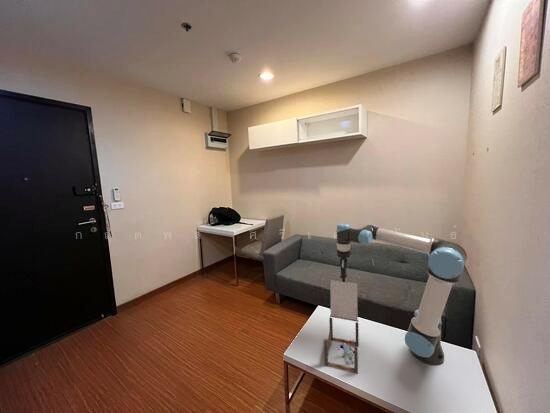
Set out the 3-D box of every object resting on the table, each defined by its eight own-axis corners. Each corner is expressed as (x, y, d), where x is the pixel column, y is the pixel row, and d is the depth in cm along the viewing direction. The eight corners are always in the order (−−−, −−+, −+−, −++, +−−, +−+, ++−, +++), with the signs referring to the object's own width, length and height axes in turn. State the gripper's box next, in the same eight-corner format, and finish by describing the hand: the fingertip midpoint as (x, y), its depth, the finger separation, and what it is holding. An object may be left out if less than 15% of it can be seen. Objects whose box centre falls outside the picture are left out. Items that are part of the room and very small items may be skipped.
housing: (358, 344, 127) (358, 322, 126) (357, 373, 108) (357, 348, 107) (330, 338, 133) (329, 317, 132) (324, 365, 114) (324, 341, 113)
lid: (358, 322, 126) (358, 321, 127) (358, 283, 126) (358, 283, 127) (329, 317, 132) (329, 316, 133) (329, 280, 132) (329, 280, 133)
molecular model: (364, 361, 111) (352, 341, 114) (347, 369, 112) (336, 350, 115) (360, 350, 122) (350, 333, 125) (345, 358, 123) (335, 340, 126)
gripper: (338, 246, 139) (338, 281, 142) (335, 252, 127) (336, 291, 130) (350, 246, 136) (350, 283, 139) (349, 253, 124) (349, 293, 127)
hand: (343, 287), depth 134 cm, fingers closed
